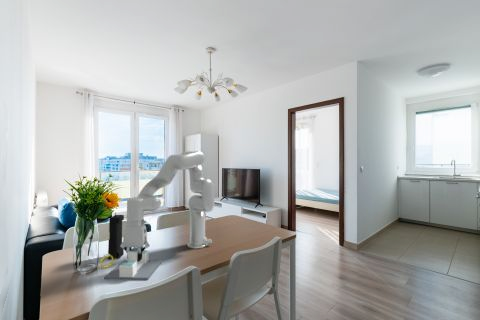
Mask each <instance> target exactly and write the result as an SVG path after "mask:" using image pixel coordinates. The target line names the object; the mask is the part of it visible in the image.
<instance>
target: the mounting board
mask: <svg viewBox="0 0 480 320" xmlns="http://www.w3.org/2000/svg"><path fill="white" fill-rule="evenodd" d="M149 253H150V252H149V250H146V249H145V250H144V251H143V252H142V259H141V260H140V261H139V262H138V263H137V262H128V259H123V260H122V261H121V262H119V264H118V265H116V266H115V267H114V268H113V269H112V270H110V271H109V272H108V273H107V274H105V276H103V280H111V281H112V280H115V281H117V280H120V281H122V280H123V281H127V280H128V281H129V280H130V281H149V279H150V278H151V277H152V275H153V274H154V273H155V272H156V270H157V269H158V268H159V266H160V265H161V264H162V263H163V260H162V259H149V258H150V257H149V255H150V254H149Z"/></svg>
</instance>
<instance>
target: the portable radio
mask: <svg viewBox="0 0 480 320" xmlns="http://www.w3.org/2000/svg"><path fill="white" fill-rule="evenodd" d="M114 214H115V215H112V216H110V217H109V219H108V220H109V221H108V223H109V224H108V225H109V227H108V231H109V232H108V233H109V239H108V244H107V245H108V246H107V254H110V255H111V256H112V257H113V258H114V260H117V259H118V260H119V259H120V258H121V257H122V256H124V254H125V252H124V251H125V250H124V249H123V248H122V247H120V245H121V244H122V242H123V220H125V215H124V214H117V212H114ZM111 256H109V257H107V259H108V260H112V257H111Z"/></svg>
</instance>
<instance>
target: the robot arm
mask: <svg viewBox="0 0 480 320" xmlns="http://www.w3.org/2000/svg"><path fill="white" fill-rule="evenodd" d="M205 159H206V158H205V154H204V153H203V152H202V151H197V150H195V151H190V150H189V151H183V152H181V153H180V154H171V155H169V156H168V157H167V158H166V160H165V161H164V163H163V165H162V166H161V168H160V170H159V171H158V173H157V174H156V175H155V176H154V177H152V178H151V179H150V180H149V181H148V182H147V183H146V184H145V185H144V186H143V187H142V189H141V190H140V192H139V193H138V195H137V196H135V197H130V198H128V199H127V201H126V226H125V228H124V233H123V236H122V244H121V245H120V247H122V248H123V249H124V251H125V253H126V255H127V256H126V257H127V259H126V260H128V251H130V250H131V249H132V248H133V247H138V262H139V261H140V260H141V259H142V252H143V251H144V250H146V249H148V248H149V247H150V243H149V242H148V235H147V234H148V232H147V227H146V224H147V221H146V220H145V218H144V217H145V216H144V214H145V212H155V211H157V210H158V209H159V208H160V207H161V204H162V201H161V199H160V198H159V197H157V196H156V195H155V193H156V192H158V191H159V190H160V189H162V188H164V187H167V186H168V185H170V184H172V181H173V180H174V178H175V177H176V174H177V173H178V171H179V170H182V171H184V170H188V172H189V173H188V174H189V187H190V188H189V190H190V191H191V192H192V193H194V195H191V196H190V197H189V199H188V201H187V202H188V203H187V204H188V210H189V242H187V243H186V244H187V247H188V248H190V249H202V248H205V247H207V246H208V244H212V243H213V240H212V239H211V238H207V236H206V214H205V213H210V212H213V210H214V208H215V201H216V200H215V199H216V198H215V185H214V182H213V181H212V180H211V179H209V178H204V170H203V166H202V165H203V163H204V162H205Z"/></svg>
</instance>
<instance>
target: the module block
mask: <svg viewBox="0 0 480 320" xmlns="http://www.w3.org/2000/svg"><path fill="white" fill-rule="evenodd" d="M127 260H128V262H137V263H138V247H132V249H131V250H130V251H128V259H127Z"/></svg>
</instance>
